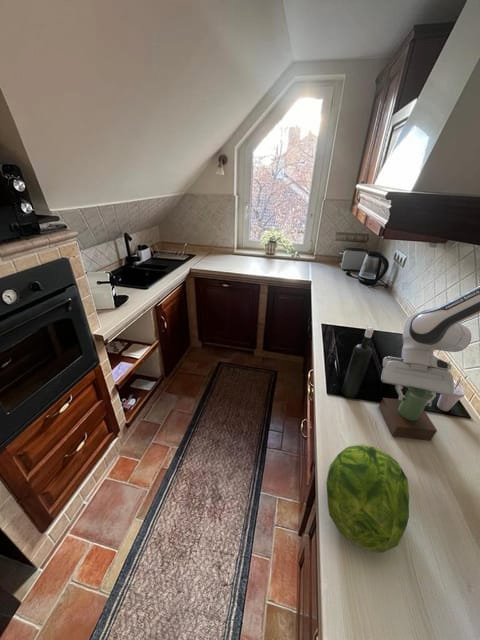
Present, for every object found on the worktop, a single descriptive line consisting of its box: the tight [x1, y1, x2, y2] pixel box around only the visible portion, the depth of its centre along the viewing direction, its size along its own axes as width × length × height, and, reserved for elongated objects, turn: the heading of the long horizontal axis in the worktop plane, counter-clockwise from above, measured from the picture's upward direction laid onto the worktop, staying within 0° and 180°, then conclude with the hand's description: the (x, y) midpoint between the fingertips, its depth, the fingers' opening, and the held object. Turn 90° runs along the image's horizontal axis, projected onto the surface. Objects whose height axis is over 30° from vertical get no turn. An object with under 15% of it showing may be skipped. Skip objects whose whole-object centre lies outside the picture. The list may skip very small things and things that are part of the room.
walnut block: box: [378, 397, 438, 441], centre depth 86 cm, size 12×12×5 cm
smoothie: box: [436, 378, 467, 412], centre depth 90 cm, size 6×6×14 cm
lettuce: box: [325, 444, 410, 553], centre depth 62 cm, size 18×23×19 cm
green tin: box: [398, 386, 431, 421], centre depth 82 cm, size 6×6×10 cm
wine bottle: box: [340, 325, 375, 399], centre depth 91 cm, size 6×6×30 cm
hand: (414, 403), depth 81 cm, fingers closed on green tin, 6 cm apart
